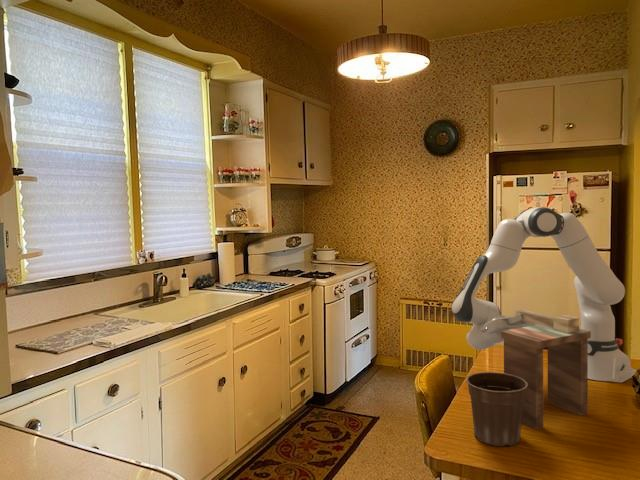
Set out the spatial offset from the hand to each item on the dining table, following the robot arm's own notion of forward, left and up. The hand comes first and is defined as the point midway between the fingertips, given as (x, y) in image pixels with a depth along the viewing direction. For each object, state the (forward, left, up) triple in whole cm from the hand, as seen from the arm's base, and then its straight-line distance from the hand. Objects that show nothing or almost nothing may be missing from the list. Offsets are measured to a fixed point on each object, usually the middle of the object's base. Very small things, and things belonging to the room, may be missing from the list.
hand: (527, 315), depth 163 cm
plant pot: (+30, +16, -28) cm, 44 cm away
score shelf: (+6, +12, -28) cm, 31 cm away
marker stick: (0, +7, -2) cm, 7 cm away
